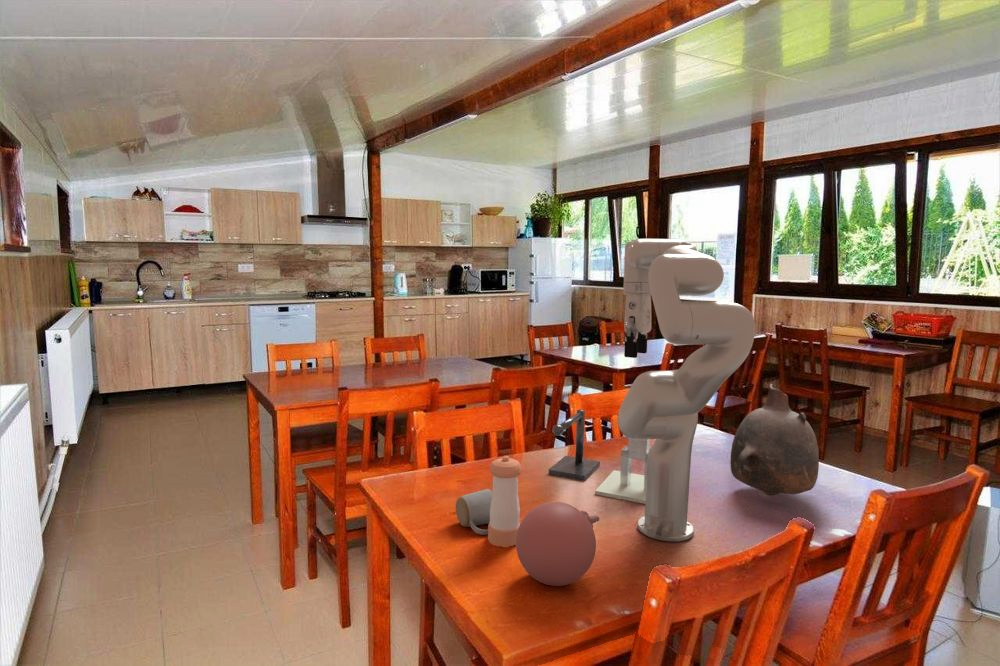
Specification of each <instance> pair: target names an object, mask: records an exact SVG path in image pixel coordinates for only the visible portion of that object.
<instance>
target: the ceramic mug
mask: <svg viewBox="0 0 1000 666" xmlns="http://www.w3.org/2000/svg"><path fill="white" fill-rule="evenodd" d="M492 495H493V490H491V489H489V488H486V489H482V490H478V491H474V492H472V493H471V492H470V493H468V494H463V495H462V496H460V497H458V498H457V499H456V501H455V514H456V517H457V521H458V523H459V524H460V525H461V526H462V527H465V528H470V527H471V528H470V529H472V530H473V531H474V532H475V534H478V535H481V536H488V535H487V534H488V529H481V528H479V527H477V526H480V525H481V526H482V525H485V524H486V525H487V524H489V522H490V506H491V501H492Z"/></svg>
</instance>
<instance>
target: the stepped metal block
mask: <svg viewBox="0 0 1000 666" xmlns="http://www.w3.org/2000/svg"><path fill="white" fill-rule="evenodd" d="M627 440H628V441H627V445H624V447H623V448H621V453H620V457H621V458H620V471H621V472H620V486H626V487H627V486H628V485H629V484H630V483H631V473H632V465H633V460H636V461H637V460H638V461H644V474H643V475H644V490H646V480H647V461H648V454H649V451H650V448H651V439H642V440H637V439H630V438H628V437H627Z"/></svg>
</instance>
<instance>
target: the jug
mask: <svg viewBox="0 0 1000 666" xmlns="http://www.w3.org/2000/svg"><path fill="white" fill-rule="evenodd" d="M789 405H790V404H789V397H788V395H787V394H786V393H784V392H783V391H782V390H779V389H778V388H777V387H776V386H775V384H773V383H770V384H769V386H768V393H767V396H766V400H765V403H764V405H763V406H762V407H759V408H755V409H754V410H752V411H750V412H749V413H748V414H746V416H745V417H744V418H743V420H742V421H741V423H740V424H739V426H738V428H737V429H736V432H735V434H734V437H733V440H732V444H731V450H730V462H729V463H730V471H731V474H732V476H733V477H734V478H735V479H736V480H737V481H739V482H741V483H742V484H745V485H747V486H749V487H751V488H753V489H757V490H759V491H761V492H762V493H764V494H765V495H767V496H770V497H772V496H777V495H798V494H803V493H806V492H808V491H811V490H812V489H813V488H814V487H815V485H816V483H817V480H818V476H819V468H820V467H819V466H820V465H819V464H820V459H819V458H820V456H819V454H820V452H819V445H818V441H817V437H816V434H815V432H814V429H813V428H812V426H811V425H810V423H809V421H807V416H806V414H805V413H804V412H800V413H797V412H796V411H793V410H792V409H791V408H790V406H789Z"/></svg>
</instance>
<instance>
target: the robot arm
mask: <svg viewBox="0 0 1000 666" xmlns="http://www.w3.org/2000/svg"><path fill="white" fill-rule="evenodd" d="M623 270H624V271H623V288H622V289H623V293H622V294H623V295H624V296H625V295H626V297H625V307H624V318H623V319H624V322H623V324H624V332H625V333H624V335H625V336H624V355H623V356H624V357H625V358H632V359H636V358H638V354H646V353H648V333H650V332H651V330H652V302H653V307H654V311H655V315H656V318H657V323H658V326H659V327H658V328H659V331H660V333H661V335H662V338H664V340H665V341H666V342H668V343H670V344H672V345H681V346H682V345H685V346H688V345H691V346H692V345H703V346H702V347H700V348H697V349H696V350H695V351H694V352H692V353H691V354H690V355H689V356H688V357H687V358H686V359H685V360H684V362H683V364H682V365H681V366H680V367H679V368H678V369H672V370H671V369H669V370H649V371H645V372H642V373H641V374H639V375H638V376H637V377H635V380H634V381H633V382H632V384H631V386H630V388H629V390H628V391H627V393H626V395H625V397H624V398H623V400H622V402H621V404H620V407H619V411H618V416H617V417H618V418H617V422H618V423H617V424H618V428H619V430H620V432H621V434H622V435H624V437H626V438H627V439H628V438H630V439H637V440H642V439H650V440H654V441H653V443H652V445H650V451H649V454H648V461H647V480H646V501H645V504H644V516H641V517H640V518H639V519H638V520H637V529H638V531H640V532H641V534H643V535H645V536H646V537H649V538H652V539H654V540H658V541H663V542H673V543H675V542H682V541H687V540H689V539H690V538H693V535H694V530H695V529H694V526H693V525H692V523H690V522H689V521H688V514H689V513H688V512H689V497H690V496H689V495H690V494H689V492H690V478H691V477H690V476H691V464H692V463H691V462H692V449H693V443H694V439H695V435H696V432H697V431H696V430H697V426H698V422H699V412H701V411H702V410H703V409H704V408H705V407H706V406H707V404H708V403H709V402H710V401H711V399H712V398H713V397H714V396H715V395H716V393H717V392H718V390H719V389H720V388H721V386H722V385H723V383H724V382H726V380H728V378H730V376H731V375H733V374H734V373H735V372H736V371H737V370H738V369H739V368H740V366H742V364H743V363H744V362H745V360H746V359H747V358H748V356H749V354H750V352H751V349H752V348H753V343H754V340H755V334H756V324H755V323H756V322H755V318H754V316H753V313H752V312H751V310H749V309H748V307H746V306H744V305H742V304H739V303H736V302H731V301H725V300H724V301H722V300H720V301H719V300H718V301H717V300H715V301H714V300H681V297H680V296H682V297H684V296H685V297H686V296H688V297H690V296H691V297H697V296H698V297H699V296H700V297H701V296H706V295H709V294H712V293H714V292H715V291H717V290H718V289H719V288H720V287H721V286H722V283H723V281H724V276H725V274H724V269H723V267H722V265H721V264H720V262H719V261H718V260H717V259H715V258H714V257H712V256H711V255H708V254H705V253H702V252H700V251H698V250H697V246H695V244H694V243H691V242H688V241H686V240H682V239H674V238H672V239H669V238H638V239H635V240H632V241H631V240H630V241H628V242H626V244H625V246H624V266H623Z"/></svg>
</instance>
